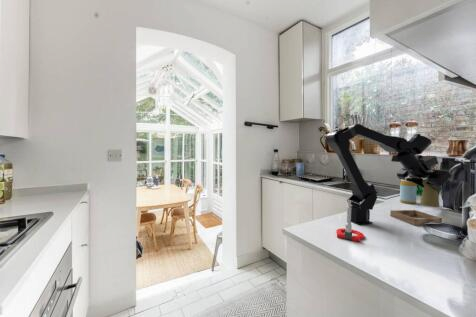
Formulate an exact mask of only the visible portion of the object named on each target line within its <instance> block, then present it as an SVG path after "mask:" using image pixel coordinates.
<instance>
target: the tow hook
mask: <svg viewBox="0 0 476 317" xmlns="http://www.w3.org/2000/svg"><path fill="white" fill-rule="evenodd" d="M351 206H352V205H351V201H350V200H349V201H348V202H347V209H346V224H345V228H337V229H335V230H336V231H335V232H336V237H337V238H340V239H342V240H343V239H344V240H347V241H350V242H351V241H354V242H357V243H360V242H361V240H364V238H365V235H364V233H362V232H361V231H358V230H356V229H352V226H353V225H352V222H351ZM353 234H355V235H353Z"/></svg>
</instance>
